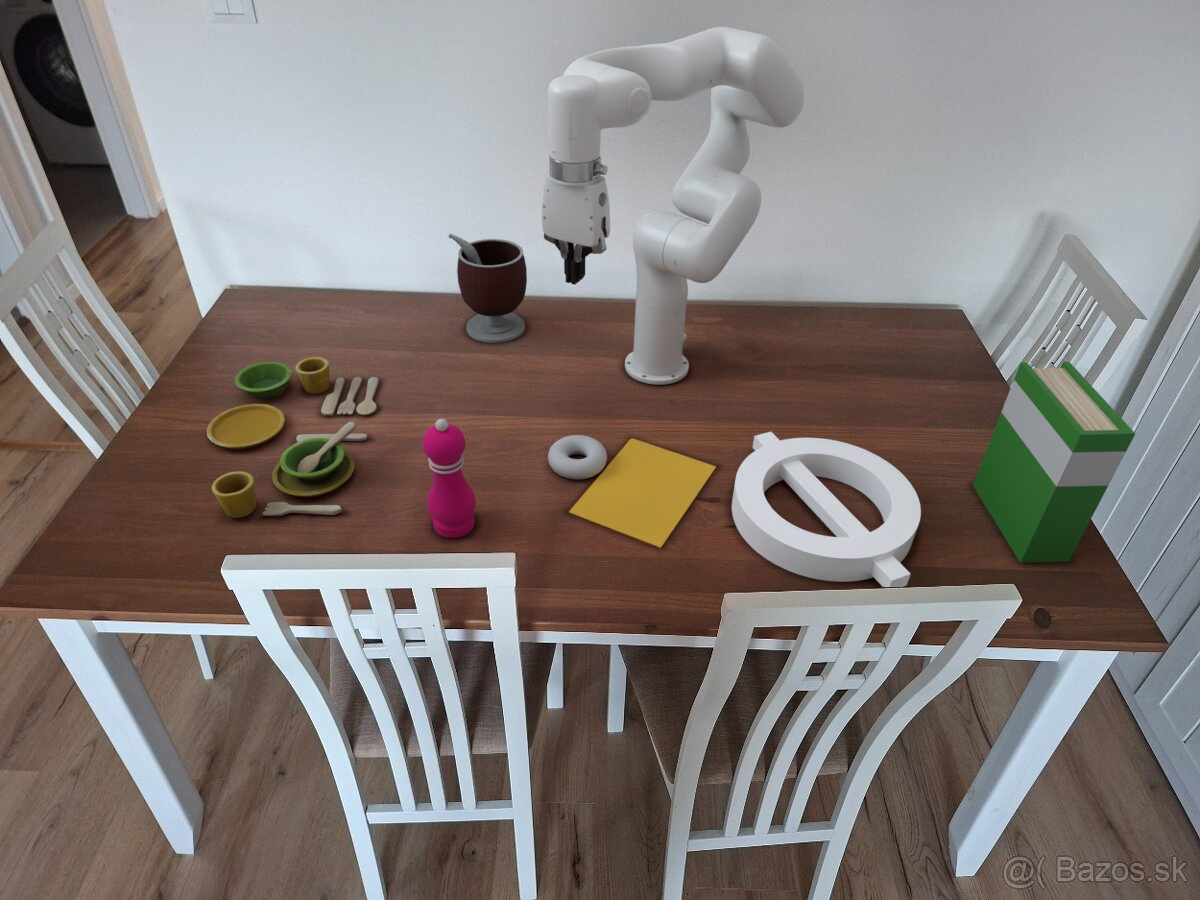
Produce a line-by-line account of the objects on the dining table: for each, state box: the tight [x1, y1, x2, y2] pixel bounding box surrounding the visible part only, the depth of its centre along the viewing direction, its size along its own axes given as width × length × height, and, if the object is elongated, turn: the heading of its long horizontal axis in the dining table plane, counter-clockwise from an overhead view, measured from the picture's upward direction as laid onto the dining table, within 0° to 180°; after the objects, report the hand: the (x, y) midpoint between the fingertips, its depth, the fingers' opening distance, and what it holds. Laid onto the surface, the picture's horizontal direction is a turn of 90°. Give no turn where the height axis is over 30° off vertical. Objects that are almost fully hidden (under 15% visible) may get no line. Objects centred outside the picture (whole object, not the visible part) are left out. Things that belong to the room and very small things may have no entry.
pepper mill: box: [422, 418, 477, 539], centre depth 122 cm, size 7×7×20 cm
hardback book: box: [972, 361, 1136, 564], centre depth 123 cm, size 18×7×24 cm, turn 3°
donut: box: [547, 434, 608, 480], centre depth 139 cm, size 10×4×10 cm
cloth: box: [568, 437, 717, 549], centre depth 135 cm, size 22×16×1 cm
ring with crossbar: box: [731, 431, 922, 588], centre depth 129 cm, size 28×28×5 cm
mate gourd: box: [448, 233, 528, 344], centre depth 169 cm, size 16×14×20 cm
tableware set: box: [206, 356, 380, 519], centre depth 141 cm, size 41×28×6 cm
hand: (574, 280), depth 134 cm, fingers closed
